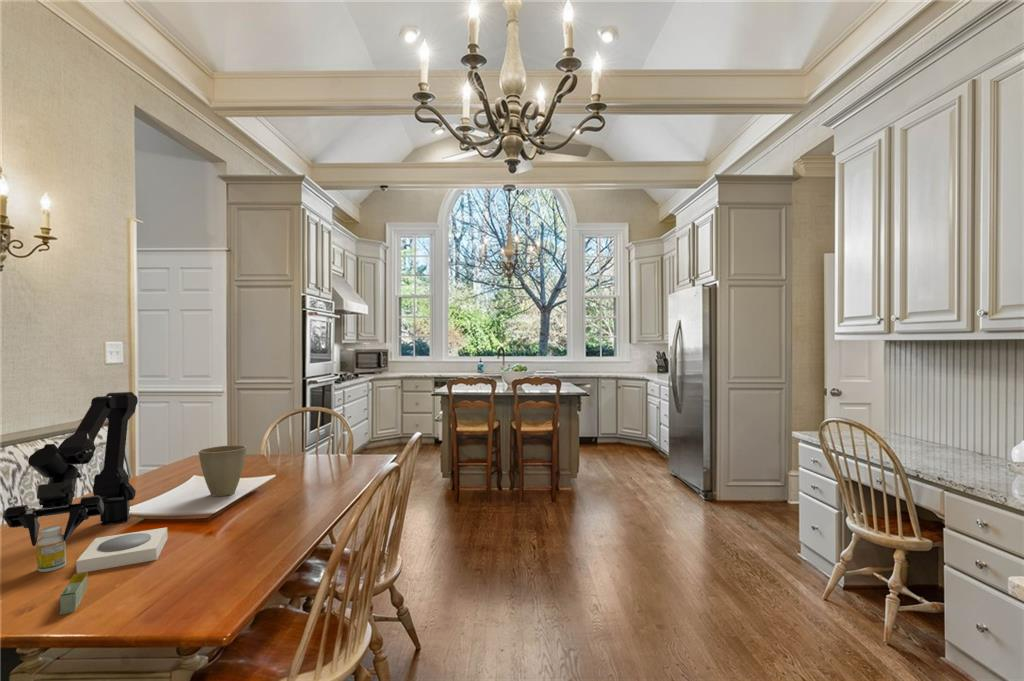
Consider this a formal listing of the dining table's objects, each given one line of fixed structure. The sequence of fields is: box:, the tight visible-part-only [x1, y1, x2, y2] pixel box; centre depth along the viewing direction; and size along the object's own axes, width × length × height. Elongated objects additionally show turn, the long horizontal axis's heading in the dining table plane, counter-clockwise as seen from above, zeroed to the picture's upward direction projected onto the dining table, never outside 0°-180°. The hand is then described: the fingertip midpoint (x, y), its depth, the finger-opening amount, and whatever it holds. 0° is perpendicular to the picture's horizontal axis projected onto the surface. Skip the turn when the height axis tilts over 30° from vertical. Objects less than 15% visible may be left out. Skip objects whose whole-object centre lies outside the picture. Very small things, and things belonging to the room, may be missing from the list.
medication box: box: [58, 572, 89, 616], centre depth 113 cm, size 12×3×4 cm, turn 29°
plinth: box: [75, 526, 169, 574], centre depth 137 cm, size 16×16×3 cm
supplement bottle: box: [36, 525, 67, 573], centre depth 130 cm, size 5×5×10 cm
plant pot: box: [198, 444, 247, 497], centre depth 188 cm, size 15×15×16 cm
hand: (49, 542), depth 129 cm, fingers open, 6 cm apart
